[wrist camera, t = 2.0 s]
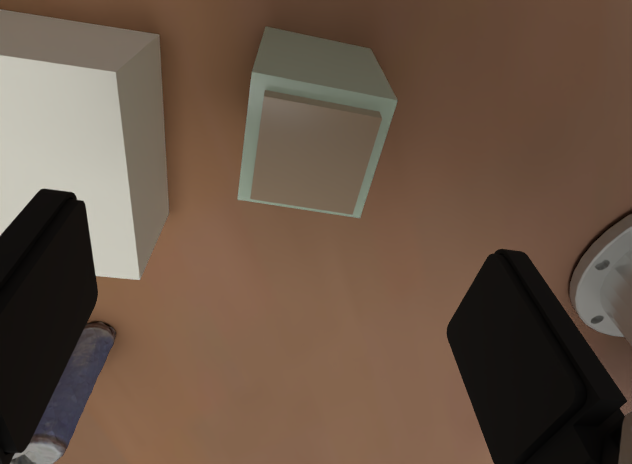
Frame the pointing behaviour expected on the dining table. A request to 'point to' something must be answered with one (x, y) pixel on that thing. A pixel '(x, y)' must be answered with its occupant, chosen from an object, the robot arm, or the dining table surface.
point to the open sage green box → (314, 124)
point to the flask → (69, 397)
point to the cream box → (85, 130)
